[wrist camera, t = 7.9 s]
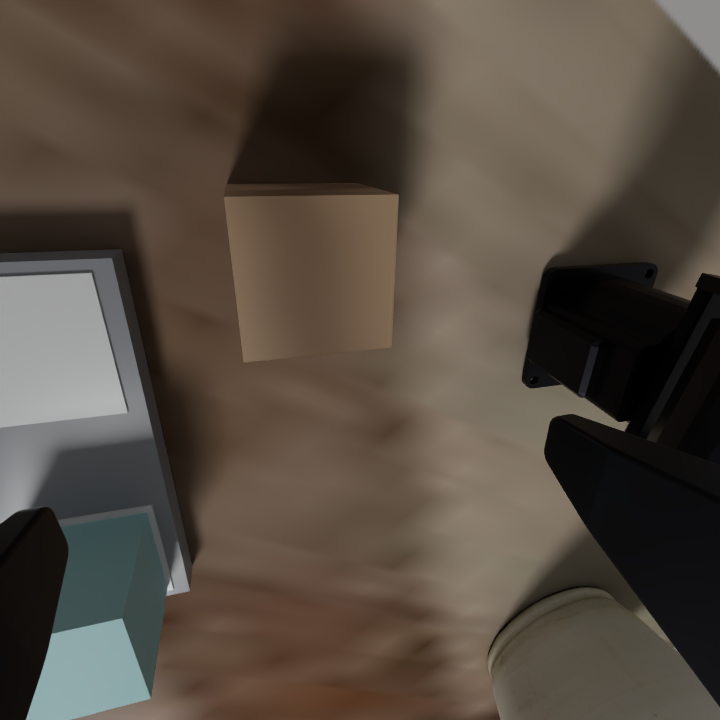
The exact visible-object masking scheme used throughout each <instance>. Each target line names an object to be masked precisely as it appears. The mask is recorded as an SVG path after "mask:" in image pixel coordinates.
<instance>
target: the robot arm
mask: <svg viewBox="0 0 720 720" xmlns="http://www.w3.org/2000/svg"><path fill="white" fill-rule="evenodd" d="M646 272H647V273H646ZM657 272H658V268H657V266H656V265H655V264H651V263H647V262H642V263H623V264H605V265H586V266H568V267H553V268H550V269H548V270H547V271H546V272H545V273H544V275H543V278H542V283H541V288H540V293H539V297H538V302H537V307H536V312H535V317H534V322H533V327H532V331H531V336H530V341H529V346H528V351H527V356H526V361H525V365H524V370H523V375H522V382H523V383H524V384H525V385H526V386H527V387H529V388H539V387H547V386H554V385H563V386H565V387H566V388H568V389H569V390H570V391H572V392H573V393H574V394H576V395H577V396H579V397H581V398H583V397H584V398H586V399H587V400H588V401H590V402H591V403H593V404H594V405H595V406H597V407H598V408H600V409H601V410H602V411H604V412H605V413H607V414H608V415H609V416H611V417H612V418H614V419H615V420H616V421H618V422H623V421H626V422H628V425H627V427H626V429H625V431H621V430H618V429H615V428H612V427H609V426H606V425H603V424H601V423H598V422H595V421H592V420H589V419H586V418H583V417H580V416H578V415H574V414H568V415H562V416H557V417H554V418H553V419H552V420H551V421H550V424H549V429H548V434H547V439H546V443H545V448H544V454H545V458H546V461H547V463H548V465H549V467H550V468H551V470H552V471H553V473H554V475H555V476H556V478H557V480H558V481H559V483H560V485H561V486H562V488H563V490H564V491H565V493H566V495H567V496H568V498H569V500H570V501H571V503H572V504H573V506H574V508H575V509H576V511H577V513H578V514H579V516H580V518H581V519H582V521H583V522H584V524H585V525H586V527H587V528H588V530H589V531H590V533H591V534H592V536H593V537H594V538H595V540H596V541H597V542H598V544H599V545H600V547H601V548H602V549H603V551H604V552H605V553H606V555H607V556H608V557H609V559H610V560H611V561H612V563H613V564H614V565H615V567H616V568H617V569H618V571H619V572H620V574H621V575H622V576H623V578H624V579H625V580H626V582H627V583H628V584H629V586H630V587H631V588H632V590H633V591H634V592H635V594H636V595H637V596H638V598H639V599H640V601H641V602H642V603H643V605H644V606H645V607H646V609H647V610H648V611H649V613H650V614H651V615H652V617H653V618H654V619H655V621H656V622H657V624H658V625H659V626H660V628H661V629H662V630H663V632H664V633H665V634H666V636H667V637H668V638H669V640H670V641H671V642H672V644H673V645H674V646H675V648H676V649H677V650H678V652H679V653H680V655H681V656H682V657H683V659H684V660H685V661H686V663H687V664H688V665H689V667H690V668H691V669H692V671H693V672H694V673H695V675H696V676H697V678H698V679H699V680H700V682H701V683H702V684H703V686H704V687H705V688H706V690H707V691H708V692H709V694H710V695H711V696H712V698H713V699H714V700H715V702H716V703H717V705H718V706H719V707H720V276H717V275H712V274H706V273H702V274H701V276H700V278H699V280H698V282H697V284H696V286H695V287H697V290H696V292H695V294H694V296H693V298H692V300H691V301H690V300H687V299H684V298H681V297H678V296H675V295H672V294H669V293H666V292H663V291H660V290H657V289H654V288H653V285H654V282H655V279H656V276H657ZM555 275H556V278H555V280H554V281H553V282H552V279H553V277H554V276H555ZM532 377H534V378H533V379H532V380H531V378H532ZM68 554H69V548H68V542H67V540H66V537H65V535H64V533H63V531H62V529H61V526H60V524H59V522H58V520H57V518H56V515H55V513H54V512H53V510H52V509H51V508H50V507H47V506H41V507H35V508H29V509H24V510H20V511H17V512H15V513H14V514H13V515H11V516H10V517H9V518H7V519H6V520H5V521H3V522H2V523H1V524H0V720H26V718H27V715H28V712H29V709H30V706H31V703H32V700H33V697H34V694H35V691H36V688H37V685H38V682H39V679H40V676H41V672H42V669H43V666H44V662H45V659H46V656H47V652H48V647H49V643H50V639H51V635H52V630H53V625H54V621H55V616H56V611H57V607H58V602H59V598H60V593H61V588H62V584H63V579H64V574H65V570H66V565H67V560H68Z"/></svg>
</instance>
